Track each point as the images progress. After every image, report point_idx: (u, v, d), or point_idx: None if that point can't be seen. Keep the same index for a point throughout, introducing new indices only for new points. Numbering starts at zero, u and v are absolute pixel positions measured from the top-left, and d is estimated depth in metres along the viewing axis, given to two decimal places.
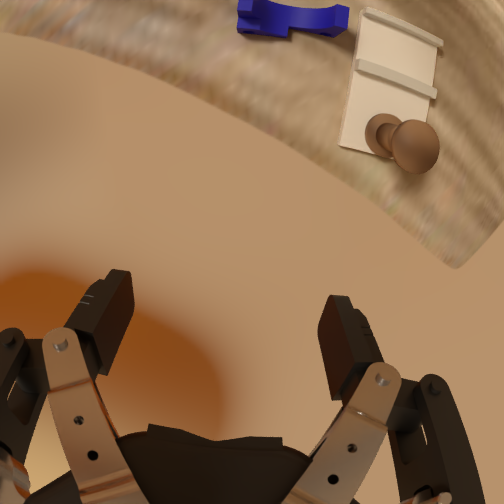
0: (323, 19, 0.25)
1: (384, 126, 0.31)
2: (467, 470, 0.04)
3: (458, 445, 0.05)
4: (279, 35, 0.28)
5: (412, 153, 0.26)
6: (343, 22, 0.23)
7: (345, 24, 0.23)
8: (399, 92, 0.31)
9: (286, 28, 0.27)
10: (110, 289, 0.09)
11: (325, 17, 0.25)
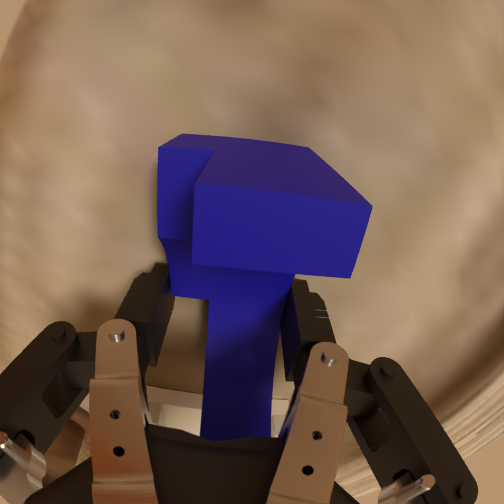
0: (234, 395, 0.12)
1: (67, 432, 0.15)
2: (443, 448, 0.05)
3: (426, 425, 0.06)
4: None
5: None
6: None
7: None
8: None
9: (198, 294, 0.11)
10: (159, 282, 0.10)
11: (239, 401, 0.11)
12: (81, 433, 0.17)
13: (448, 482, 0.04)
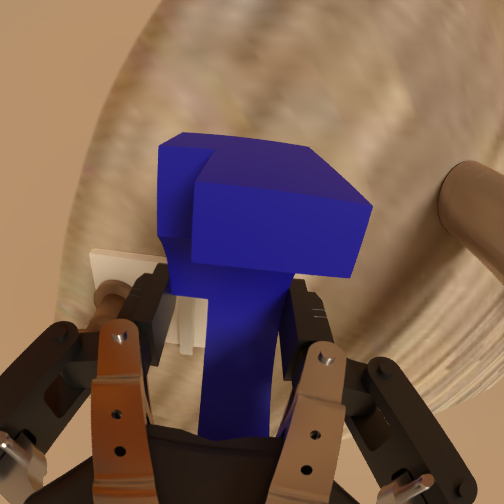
0: (232, 395, 0.12)
1: (120, 305, 0.29)
2: (441, 447, 0.05)
3: (425, 425, 0.06)
4: None
5: None
6: None
7: None
8: None
9: (197, 293, 0.11)
10: (161, 281, 0.10)
11: (237, 401, 0.11)
12: None
13: (447, 481, 0.04)
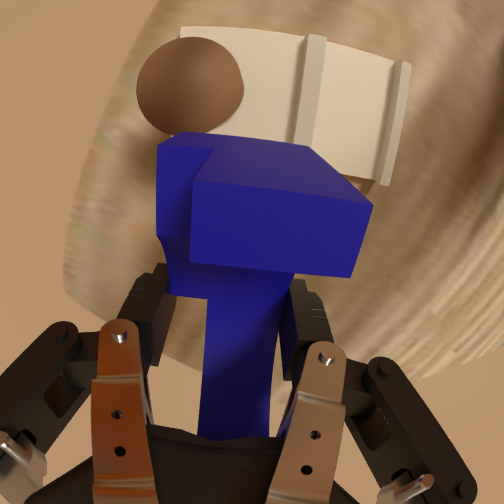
0: (232, 396, 0.11)
1: None
2: (441, 446, 0.05)
3: (425, 425, 0.06)
4: None
5: (173, 76, 0.14)
6: None
7: None
8: (284, 107, 0.23)
9: (197, 293, 0.11)
10: (161, 281, 0.10)
11: (237, 402, 0.11)
12: None
13: (447, 481, 0.04)
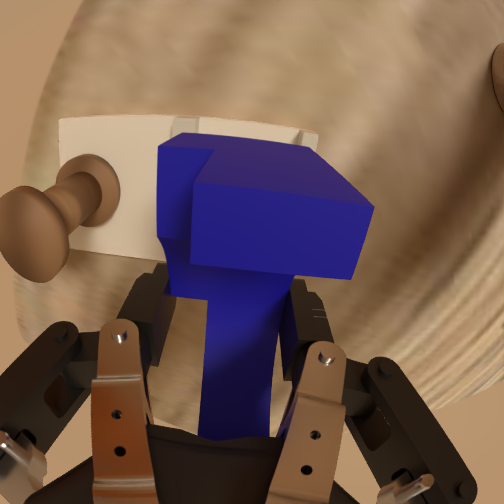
0: (232, 396, 0.11)
1: (86, 181, 0.18)
2: (442, 447, 0.05)
3: (424, 425, 0.06)
4: None
5: (12, 231, 0.13)
6: None
7: None
8: None
9: (197, 294, 0.11)
10: (161, 281, 0.10)
11: (237, 403, 0.11)
12: (98, 194, 0.20)
13: (447, 481, 0.04)
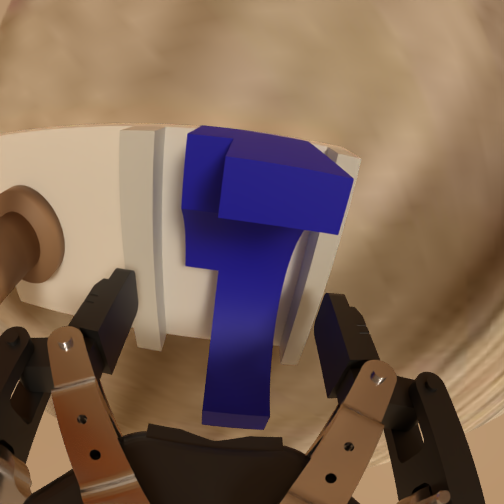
0: (236, 361, 0.13)
1: (13, 230, 0.11)
2: (465, 468, 0.04)
3: (455, 443, 0.05)
4: None
5: None
6: (217, 421, 0.12)
7: (211, 423, 0.12)
8: (119, 258, 0.14)
9: (209, 265, 0.13)
10: (115, 288, 0.09)
11: (241, 367, 0.13)
12: (33, 245, 0.12)
13: (461, 503, 0.03)
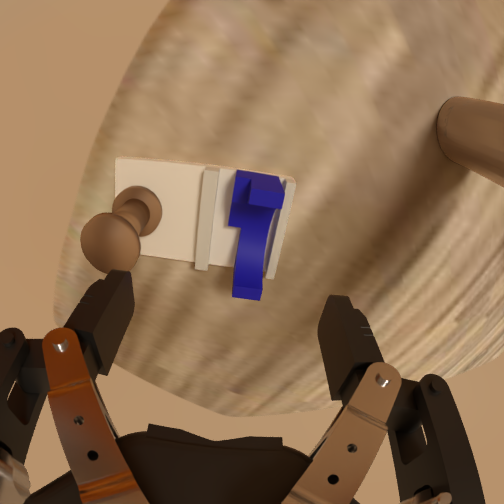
0: (247, 268, 0.32)
1: (141, 207, 0.30)
2: (467, 470, 0.04)
3: (458, 446, 0.05)
4: (229, 217, 0.32)
5: (99, 241, 0.24)
6: (239, 294, 0.31)
7: (236, 295, 0.31)
8: (191, 223, 0.33)
9: (238, 225, 0.32)
10: (110, 289, 0.09)
11: (250, 270, 0.32)
12: (148, 215, 0.31)
13: None
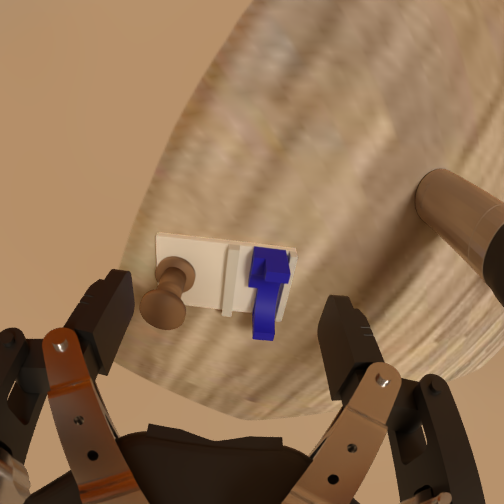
0: (263, 317, 0.43)
1: (180, 275, 0.41)
2: (467, 470, 0.04)
3: (458, 445, 0.05)
4: (249, 280, 0.42)
5: (155, 308, 0.35)
6: (257, 337, 0.41)
7: (256, 338, 0.42)
8: (218, 283, 0.44)
9: (255, 286, 0.43)
10: (110, 289, 0.09)
11: (265, 319, 0.43)
12: (185, 279, 0.42)
13: None
